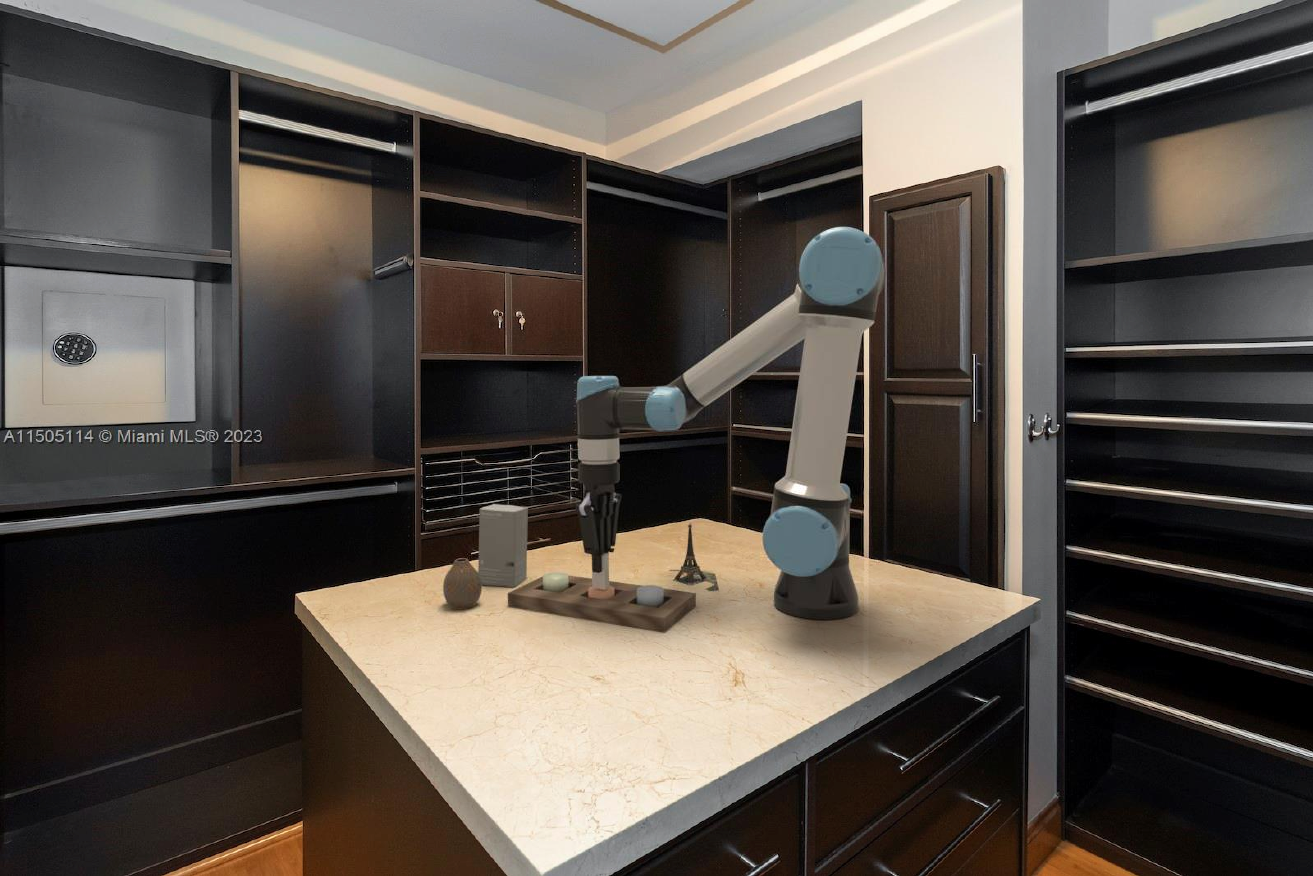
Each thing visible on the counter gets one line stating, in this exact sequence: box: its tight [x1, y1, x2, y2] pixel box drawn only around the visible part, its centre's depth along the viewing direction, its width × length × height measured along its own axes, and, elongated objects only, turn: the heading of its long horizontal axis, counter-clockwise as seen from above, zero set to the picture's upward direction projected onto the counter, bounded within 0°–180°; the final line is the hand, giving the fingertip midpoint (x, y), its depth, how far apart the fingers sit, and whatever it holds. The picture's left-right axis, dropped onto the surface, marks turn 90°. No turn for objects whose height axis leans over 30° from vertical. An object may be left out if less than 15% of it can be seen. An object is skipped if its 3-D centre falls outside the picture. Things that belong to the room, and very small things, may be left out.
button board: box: [507, 574, 697, 633], centre depth 128 cm, size 32×14×2 cm, turn 65°
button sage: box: [542, 571, 569, 593], centre depth 132 cm, size 5×5×3 cm
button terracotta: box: [588, 586, 614, 600], centre depth 128 cm, size 5×5×3 cm
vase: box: [442, 557, 483, 610], centre depth 129 cm, size 7×7×9 cm
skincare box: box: [477, 503, 529, 588], centre depth 143 cm, size 8×7×16 cm
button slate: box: [637, 584, 664, 608], centre depth 124 cm, size 5×5×3 cm
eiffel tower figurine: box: [669, 523, 720, 592], centre depth 143 cm, size 15×10×13 cm
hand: (600, 587), depth 128 cm, fingers closed
